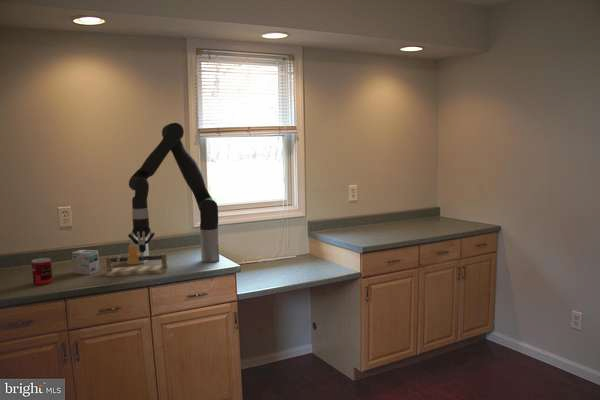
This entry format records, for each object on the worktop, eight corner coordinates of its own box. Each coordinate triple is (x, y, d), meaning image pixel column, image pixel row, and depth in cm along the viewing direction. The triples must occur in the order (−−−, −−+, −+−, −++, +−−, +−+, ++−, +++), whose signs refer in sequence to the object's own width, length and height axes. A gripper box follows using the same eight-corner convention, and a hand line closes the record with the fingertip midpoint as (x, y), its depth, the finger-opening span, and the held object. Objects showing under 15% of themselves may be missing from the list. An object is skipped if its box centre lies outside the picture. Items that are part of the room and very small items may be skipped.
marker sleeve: (139, 261, 243) (138, 244, 242) (138, 263, 239) (137, 246, 238) (129, 262, 243) (128, 245, 242) (127, 264, 239) (126, 247, 237)
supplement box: (149, 260, 264) (148, 237, 263) (144, 263, 257) (142, 240, 255) (136, 260, 265) (135, 237, 264) (130, 263, 258) (129, 240, 256)
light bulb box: (100, 271, 243) (98, 250, 242) (90, 275, 237) (88, 253, 236) (82, 270, 247) (81, 249, 246) (72, 273, 241) (71, 252, 239)
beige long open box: (168, 267, 249) (167, 251, 248) (165, 272, 239) (164, 255, 238) (110, 270, 245) (109, 254, 244) (105, 276, 235) (104, 259, 234)
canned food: (37, 281, 228) (35, 258, 227) (55, 280, 229) (53, 257, 228) (30, 286, 221) (28, 262, 219) (48, 285, 222) (46, 261, 220)
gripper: (155, 215, 243) (157, 249, 246) (127, 216, 241) (130, 251, 244) (153, 217, 236) (155, 253, 238) (125, 219, 234) (127, 254, 236)
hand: (142, 252), depth 241 cm, fingers closed
